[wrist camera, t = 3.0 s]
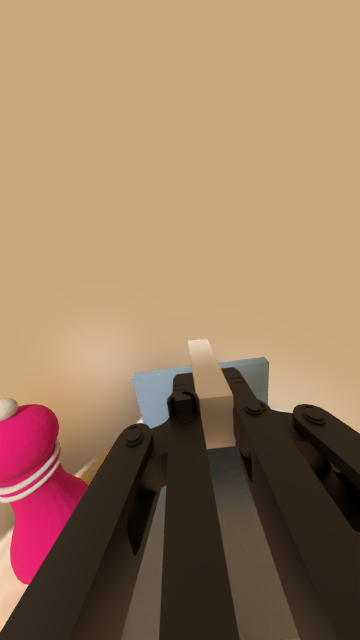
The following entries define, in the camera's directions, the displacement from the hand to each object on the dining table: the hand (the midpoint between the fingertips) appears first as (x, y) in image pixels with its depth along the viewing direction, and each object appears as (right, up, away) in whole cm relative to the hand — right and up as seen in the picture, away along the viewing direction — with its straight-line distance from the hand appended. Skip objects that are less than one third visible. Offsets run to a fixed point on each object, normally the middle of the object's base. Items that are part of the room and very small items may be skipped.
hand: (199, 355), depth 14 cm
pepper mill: (-14, -23, +6) cm, 28 cm away
